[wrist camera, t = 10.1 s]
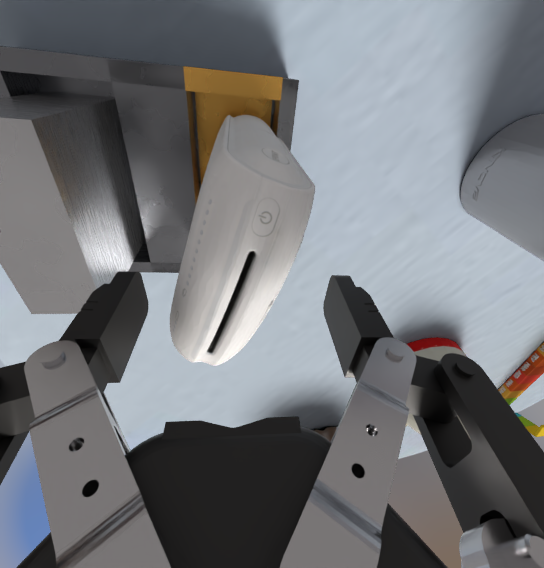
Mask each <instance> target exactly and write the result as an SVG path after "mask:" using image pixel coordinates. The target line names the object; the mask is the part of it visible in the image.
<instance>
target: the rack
mask: <svg viewBox="0 0 544 568" xmlns="http://www.w3.org/2000/svg"><path fill="white" fill-rule="evenodd" d="M298 83H299V80H295V79H289V78H283V77H275V76H266V75H257V74H249V73H240V72H231V71H222V70H213V69H204V68H195V67H187V66H175V65H166V64H157V63H148V62H139V61H130V60H121V59H112V58H104V57H95V56H86V55H77V54H68V53H59V52H50V51H41V50H33V49H24V48H15V47H4V46H0V264H1V265H2V267H3V269H4V270H5V272H6V273H7V275H8V277H9V278H10V280H11V281H12V283H13V285H14V286H15V288H16V290H17V291H18V293H19V294H20V296H21V298H22V299H23V301H24V302H25V304H26V306H27V307H28V309H29V310H30V312H31V314H72V313H78V312H79V311H81V308H82V307H83V305H84V304H85V303H86V301H87V299H88V298H89V296H90V295H91V294H92V292H93V291H95V290H96V289H97V288H99V287H100V286H101V285H103V284H110V282H111V281H112V279H113V278H114V276H115V275H116V273H117V272H119V271H128V272H169V273H179V271H180V267H181V263H182V259H183V255H184V251H185V248H186V244H187V240H188V235H189V231H190V227H191V223H192V219H193V215H194V211H195V207H196V203H197V199H198V196H199V192H200V188H201V185H202V182H203V178H204V175H205V172H206V168H207V165H208V162H209V159H210V155H211V152H212V149H213V146H214V143H215V140H216V138H217V135H218V132H219V130H220V128H221V126H222V124H223V122H224V120H225V118H226V117H227V116H228V115H230V116H232V117H236V116H240V115H251V116H255V117H258V118H260V119H261V120H263V121H264V122H265V123H266V124H267V125H268V126H269V127H270V128H271V130H272V131H273V133H274V134H275V136H276V137H278V138H280V139H281V140H282V141H283V142H284V144H285V145H286V147H287V148H288V149H289V151H290V150H291V141H292V133H293V125H294V116H295V108H296V100H297V92H298Z"/></svg>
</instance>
